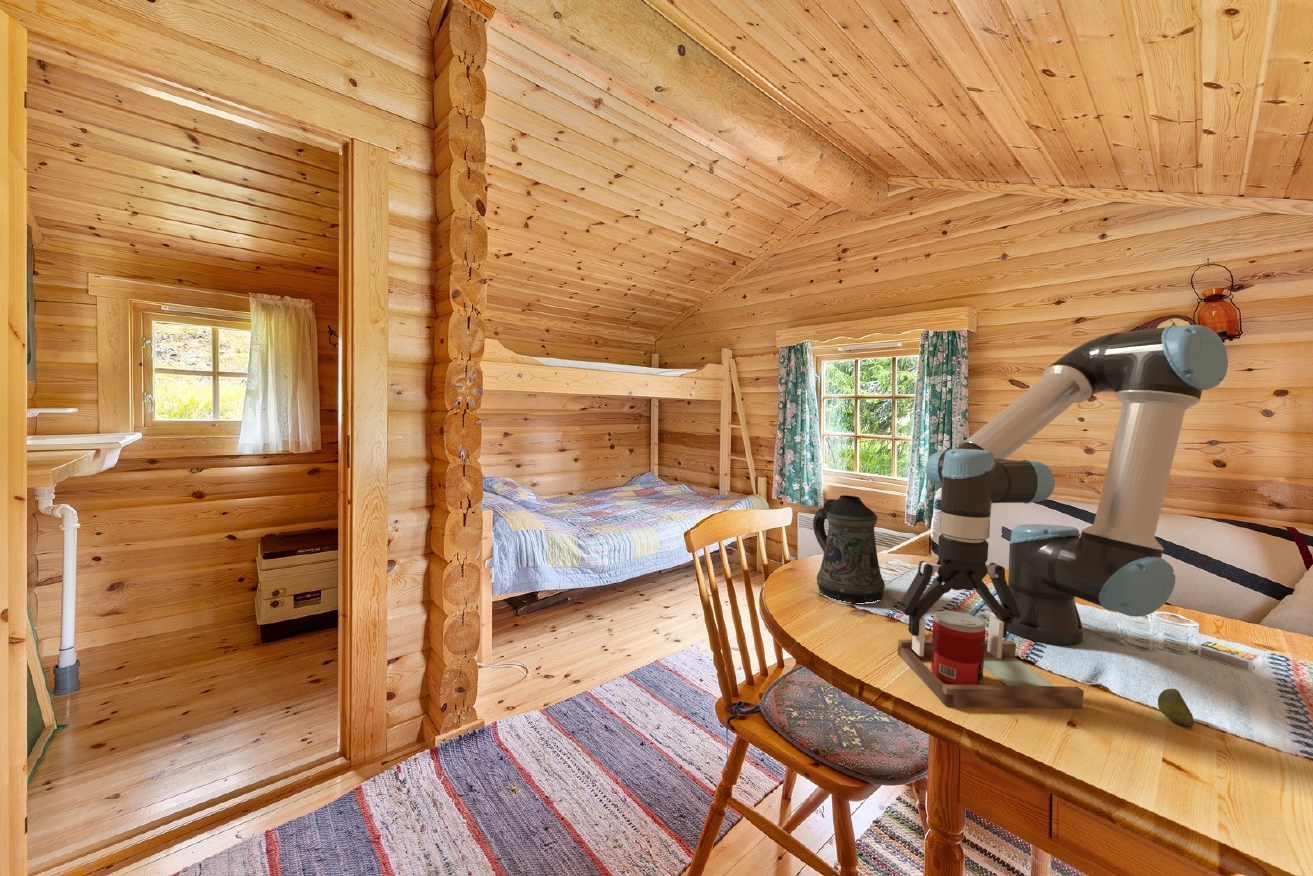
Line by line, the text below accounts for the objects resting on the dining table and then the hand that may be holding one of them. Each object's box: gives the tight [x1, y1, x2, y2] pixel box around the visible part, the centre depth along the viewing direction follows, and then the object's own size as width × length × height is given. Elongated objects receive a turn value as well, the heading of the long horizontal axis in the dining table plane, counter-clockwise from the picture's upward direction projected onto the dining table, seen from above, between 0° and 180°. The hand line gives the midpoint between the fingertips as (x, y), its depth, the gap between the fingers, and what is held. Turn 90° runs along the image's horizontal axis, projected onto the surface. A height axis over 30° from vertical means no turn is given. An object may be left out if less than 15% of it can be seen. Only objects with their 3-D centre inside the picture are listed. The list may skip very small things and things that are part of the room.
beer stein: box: [812, 494, 886, 603], centre depth 131 cm, size 16×19×25 cm
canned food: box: [930, 610, 986, 685], centre depth 90 cm, size 8×8×11 cm
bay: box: [897, 638, 1085, 710], centre depth 90 cm, size 22×17×3 cm
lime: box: [1157, 687, 1195, 727], centre depth 79 cm, size 4×5×5 cm
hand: (955, 653), depth 90 cm, fingers open, 13 cm apart
